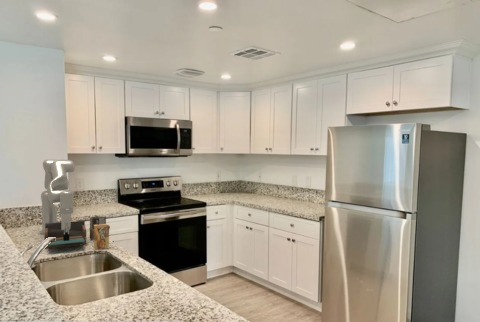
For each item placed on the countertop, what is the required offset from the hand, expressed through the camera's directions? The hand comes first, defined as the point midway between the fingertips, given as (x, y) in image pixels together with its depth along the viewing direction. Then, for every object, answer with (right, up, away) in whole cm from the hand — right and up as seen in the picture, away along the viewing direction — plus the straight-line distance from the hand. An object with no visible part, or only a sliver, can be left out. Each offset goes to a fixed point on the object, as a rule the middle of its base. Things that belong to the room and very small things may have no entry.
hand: (66, 240), depth 210 cm
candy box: (+19, -7, +6) cm, 21 cm away
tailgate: (-4, -3, +8) cm, 9 cm away
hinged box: (-8, -6, +15) cm, 18 cm away
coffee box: (+9, -6, +25) cm, 27 cm away
